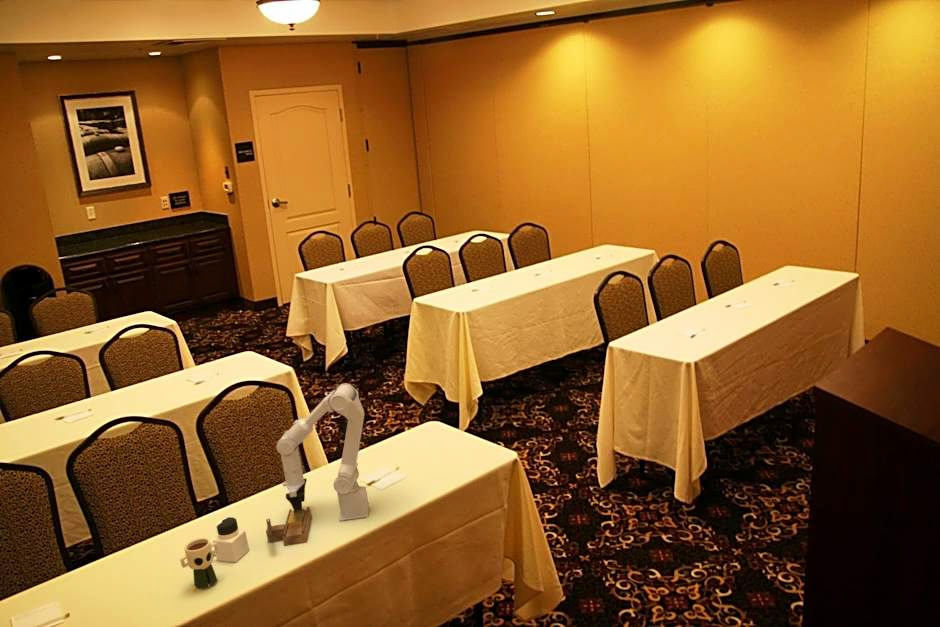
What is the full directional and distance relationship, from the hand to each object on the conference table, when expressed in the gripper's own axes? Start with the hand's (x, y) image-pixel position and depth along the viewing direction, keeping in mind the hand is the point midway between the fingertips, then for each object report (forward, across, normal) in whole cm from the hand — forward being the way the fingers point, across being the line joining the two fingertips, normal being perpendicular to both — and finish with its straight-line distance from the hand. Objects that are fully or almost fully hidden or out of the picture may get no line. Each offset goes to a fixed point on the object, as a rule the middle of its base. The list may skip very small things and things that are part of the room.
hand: (299, 506), depth 257 cm
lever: (0, +17, -7) cm, 18 cm away
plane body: (+4, +9, -3) cm, 10 cm away
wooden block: (+1, +8, 0) cm, 8 cm away
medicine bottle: (+4, +18, -19) cm, 27 cm away
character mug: (+4, +32, -24) cm, 40 cm away
